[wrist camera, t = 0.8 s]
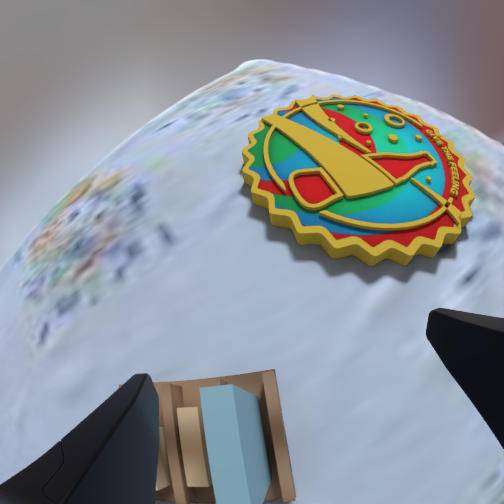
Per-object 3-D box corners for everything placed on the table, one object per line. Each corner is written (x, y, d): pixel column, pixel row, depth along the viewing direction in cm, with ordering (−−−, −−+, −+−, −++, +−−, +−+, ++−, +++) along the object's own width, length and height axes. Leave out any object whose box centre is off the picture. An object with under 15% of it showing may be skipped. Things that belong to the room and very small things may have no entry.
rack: (295, 495, 15) (296, 506, 13) (149, 497, 16) (132, 504, 13) (274, 369, 21) (272, 363, 19) (136, 384, 22) (118, 378, 19)
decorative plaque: (201, 134, 36) (359, 79, 41) (206, 150, 38) (358, 92, 43) (361, 320, 20) (505, 181, 25) (354, 330, 22) (497, 194, 28)
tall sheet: (271, 478, 16) (254, 524, 8) (251, 480, 16) (220, 525, 8) (258, 396, 20) (232, 384, 11) (239, 399, 20) (199, 387, 12)
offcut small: (176, 482, 16) (157, 490, 13) (159, 480, 16) (139, 488, 13) (168, 427, 19) (149, 428, 16) (152, 427, 19) (131, 427, 16)
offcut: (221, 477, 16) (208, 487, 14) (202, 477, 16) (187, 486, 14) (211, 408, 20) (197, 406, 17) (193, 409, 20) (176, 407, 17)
